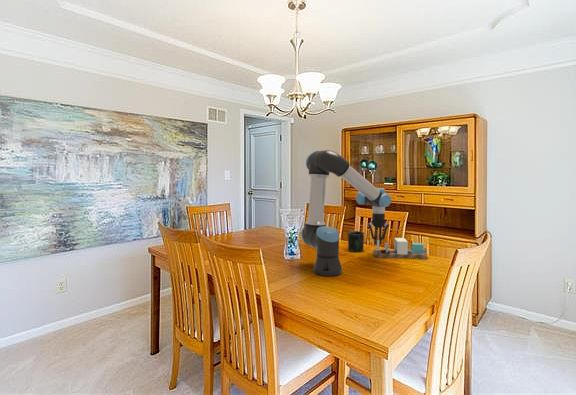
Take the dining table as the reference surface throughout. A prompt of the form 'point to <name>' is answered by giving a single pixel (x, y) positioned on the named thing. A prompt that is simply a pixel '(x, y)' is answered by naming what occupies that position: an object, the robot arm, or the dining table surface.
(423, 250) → the sled
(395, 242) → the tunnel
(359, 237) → the mug
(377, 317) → the dining table surface
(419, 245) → the block
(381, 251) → the deck
